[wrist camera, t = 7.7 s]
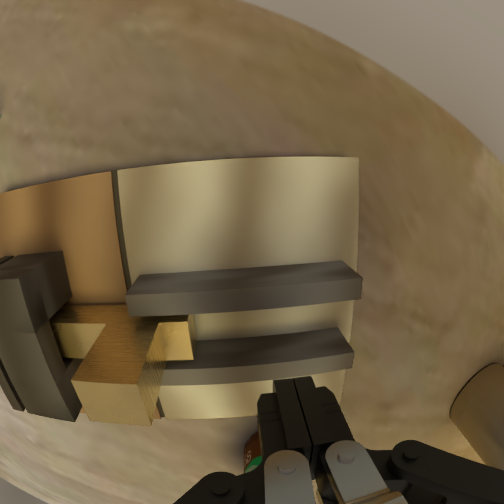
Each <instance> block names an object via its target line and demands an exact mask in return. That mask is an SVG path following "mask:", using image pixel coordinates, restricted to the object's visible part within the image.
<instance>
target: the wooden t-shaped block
mask: <svg viewBox="0 0 504 504" xmlns="http://www.w3.org/2000/svg"><path fill="white" fill-rule="evenodd" d="M49 323H50V326H51V329H52V332H53V335H54V338H55V340H56V343H57V346H58V349H59V352H60V354H61V357H66V358H80V359H84V360H83V361H82V363H81V364H80V366H79V368H78V369H77V371H76V373H75V374H74V376H73V378H72V379H71V382H72V384H73V386H74V389H75V391H76V393H77V395H78V397H79V400H80V402H81V404H82V406H83V408H84V410H85V412H86V414H87V416H88V418H89V420H90V421H98V422H107V423H117V424H129V425H145V426H151V425H152V421H153V416H154V412H155V407H156V403H157V399H158V395H159V390H160V386H161V382H162V378H163V374H164V370H165V366H166V362H167V360H194V352H195V345H196V330H195V323H194V316H193V314H190V315H168V316H138V317H129V312H128V308H127V305H85V306H62V307H61V308H60V309H59V310H58V311H57V312H56V313H55V314H54V315H53V316H52V317H51V318H50V319H49Z"/></svg>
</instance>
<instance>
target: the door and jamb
mask: <svg viewBox="0 0 504 504" xmlns="http://www.w3.org/2000/svg"><path fill="white" fill-rule="evenodd" d="M358 231H359V158H358V157H260V158H237V159H220V160H206V161H194V162H182V163H172V164H163V165H154V166H145V167H137V168H130V169H122V170H116V171H109V172H102V173H96V174H90V175H84V176H78V177H73V178H68V179H62V180H57V181H52V182H47V183H43V184H38V185H33V186H29V187H25V188H20V189H16V190H12V191H8V192H4V193H0V385H1V387H2V389H3V391H4V393H5V395H6V397H7V399H8V400H9V402H10V404H11V406H12V407H13V409H15V410H19V411H24V410H25V408H26V410H27V412H28V413H31V414H35V415H40V416H44V417H49V418H54V419H60V420H65V421H71V422H75V421H76V419H77V417H78V415H79V412H81V413H86V412H85V410H84V408H83V406H82V404H81V402H80V400H79V397H78V395H77V393H76V391H75V389H74V386H73V384H72V382H71V379H72V378H73V376H74V374H75V373H76V371H77V369H78V368H79V366H80V364H81V363H82V361H83V360H84V359H80V358H66V357H61V354H60V352H59V349H58V346H57V343H56V340H55V338H54V335H53V332H52V329H51V326H50V323H49V319H50V318H51V317H52V316H53V315H54V314H55V313H56V312H57V311H58V310H59V309H60V308H61V307H62V306H85V305H127V308H128V312H129V317H138V316H168V315H190V314H193V316H194V323H195V330H196V345H195V352H194V360H167V362H166V366H165V370H164V374H163V378H162V382H161V386H160V390H159V395H158V399H157V403H156V407H155V412H154V416H153V419H161V417H165V418H166V419H209V418H230V417H244V416H256V415H257V402H258V399H259V397H260V395H261V394H264V393H273V380H278V379H288V378H296V377H304V376H311V377H312V379H313V381H314V384H315V386H316V387H322V386H326V387H327V388H328V389H329V390H330V391H332V392H333V393H334V395H335V397H336V400H337V402H338V403H340V402H341V397H342V391H343V385H344V379H345V372H346V369H349V368H352V364H353V358H354V351H353V349H352V348H351V346H350V345H349V343H350V335H351V327H352V318H353V308H354V300H357V299H361V291H362V280H363V278H362V277H361V276H360V275H359V274H358V273H356V271H357V254H358Z"/></svg>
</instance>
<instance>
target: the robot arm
mask: <svg viewBox="0 0 504 504" xmlns="http://www.w3.org/2000/svg"><path fill="white" fill-rule="evenodd" d="M450 417H451V419H452V421H453V422H454V423H455V425H456V426H457V427H458V429H459V430H460V431H461V432H462V434H463V435H464V436H465V438H466V439H467V440H468V442H469V443H470V444H471V446H472V447H473V448H474V450H475V451H476V452H477V454H478V455H479V456H480V458H481V459H482V460H483V462H484V463H485V464H486V465H484V464H481V463H478V462H474V461H471V460H468V459H465V458H462V457H459V456H457V455H454V454H451V453H448V452H445V451H443V450H440V449H437V448H434V447H432V446H429V445H427V444H424V443H422V442H419V441H415V440H406V441H402V442H400V443H398V444H397V445H396V446H395V447H394V448H393V450H369V449H366V448H364V447H363V446H362V445H361V444H360V443H358V442H356V441H355V440H354V438H353V436H352V434H351V431H350V429H349V427H348V424H347V422H346V420H345V418H344V415H343V413H342V412H341V409H340V406H339V404H338V402H337V400H336V397H335V395H334V393H333V392H332V391H330V390H329V389H328V388H327V387H326V386H322V387H316V386H315V384H314V381H313V379H312V377H311V376H304V377H296V378H288V379H278V380H273V393H264V394H261V395H260V397H259V399H258V402H257V418H258V432H259V440H260V448H261V455H262V461H261V463H260V464H259V465H258V467H256V468H255V469H254V470H252V471H250V472H247V473H244V474H241V475H238V476H235V475H234V474H231V473H228V472H214V473H211V474H208V475H206V476H205V477H203V478H202V479H201V480H200V481H199V482H198V483H197V484H195V485H194V486H193V487H192V488H191V489H190V490H189V491H188V492H186V493H185V494H184V495H183V496H182V497H181V498H179V499H178V500H177V501H176V502H175V503H173V504H315V498H314V492H313V486H312V480H314V479H316V483H317V486H318V488H317V492H316V495H317V498H318V501H319V504H504V366H503V367H502V366H501V365H500V364H497V363H496V364H492V365H489V366H487V367H486V368H484V369H483V370H481V371H480V372H479V373H478V374H477V375H476V376H475V377H473V378H472V379H471V380H470V382H469V383H468V384H467V385H466V386H465V387H464V389H463V390H462V391H461V392H460V394H459V395H458V397H457V398H456V400H455V402H454V404H453V406H452V409H451V412H450Z"/></svg>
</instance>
